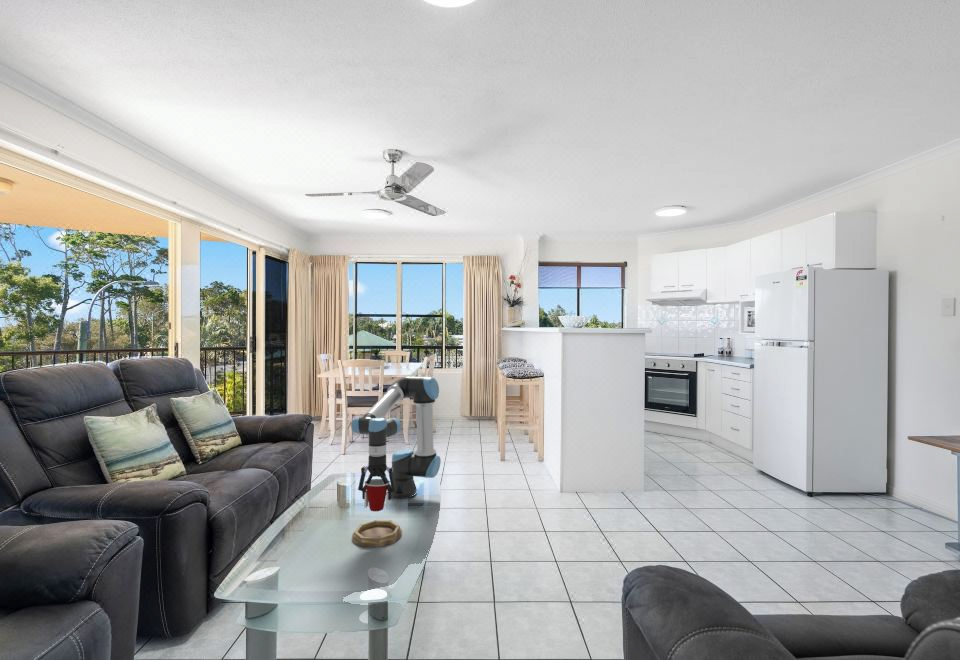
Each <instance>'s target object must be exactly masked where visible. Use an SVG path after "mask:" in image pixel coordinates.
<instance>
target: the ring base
mask: <svg viewBox="0 0 960 660" xmlns="http://www.w3.org/2000/svg"><path fill="white" fill-rule="evenodd" d="M402 536H403V530H402V528H401V525H399V524H398V523H396V522H395V521H393V520H388V519H387V520H383V519H374V520H370V521H368V522H364V523H361V524H359V525H358V526H357V528H356V529H355V530H354V531H353V533H352V535H351V540H352V542H353V544H355V545H356V546H359V547H363V548H381V547H386V546H390V545H393V544H394V543H396V542H398V541H399V540H400V539H401V538H402Z"/></svg>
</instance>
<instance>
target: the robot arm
mask: <svg viewBox="0 0 960 660" xmlns="http://www.w3.org/2000/svg"><path fill="white" fill-rule="evenodd" d="M439 395H440V387H439V383H438V381H437V379H436V378H435V377H433V376H431V377H430V376H411V375H409V376H404V377H401V378H399V379H398V380H396V381H394V382H393V383H392V384H391V385H389V387H388V388H387V390H386V392H385V393H384V394H383V395H382V396H381V397H380V399H378V400H377V401H376V403H374V405H373V406H372V407H371V408H370V409H369V410H368V411H366V413H365V414H364V415H363V416H357V417H354V418H353V419H352V421H351V425H350V429H351V431H352V433H354V434H357V435H366V436H367V435H368V454H369V455H368V466H363V467H361V469H360V471H361V474H360V478H359V479H360V480H359V483H358V484H359V485H358V487H357V490H358V491H360V492H361V493H362V494H361V495H362V497H361V498H362V500H364V508H365V509H367V507H369V502H368V496H367V490H366V485H365V479H366V474H367V472H368V473H369V475H368V478H367V479H366V483H367V484H369V483H370V481H371V479H373V478H374V477H377V478H380V479H382V480H383V482H384V484H387V483H389V481H390V483H389V484H388V485H387V488H386V489H387V492H386V498H385V502H386V503H385V508H386V509H389V508H390V505H391V504H390V503H391V502H390V501H391V500H392V499H407V498H406V497H409V498H411V497H410V496H412V495H414V494H415V493H416V492H417V491H418V490H417V485H416V483H415V480H414V479H415V478H414V477H419V478H426V479H431V478H432V479H434V478H435V477H436V476H437V475H438V473H439V470H440V468H441V464H442V463H441V457H440V456H439V455H437V450H436V449H435V448H434V423H433V422H434V416H433V415H434V414H433V404H435V403H436V400H437V399H438V398H439ZM403 399H412V400H413V401H412V402H413V404H414V405H415V406H416V410H415V411H416V412H415V413H416V448H417V449H416V450H415V451H414V450H413V449H401V450H398V451H395V452H394V453H392V456H391V467H390V466H388V464H387V438H389V437H392V436H395V435H396V434H398V433H399V432H400V430H401V427H402V426H401V425H402V424H401V421H400V420H399V419H398V418H396V417H390V418H385V416H386V415H388V413H389V412H390V411H391V409H392V408H394V407H395V405H396V404H397V403H399V402H401V401H402V400H403ZM386 472H387V473H388V477H389V479H388V477H387V474H386ZM388 480H389V481H388ZM416 494H417V493H416ZM414 496H415V495H414ZM412 497H413V496H412Z"/></svg>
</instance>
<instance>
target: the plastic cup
mask: <svg viewBox="0 0 960 660" xmlns="http://www.w3.org/2000/svg"><path fill="white" fill-rule="evenodd" d="M366 481H367V480H366ZM366 481H365V480H364V486H365V485H366V490H367V496H368V507H369V511H371V512H381V511H383V510H384V508H385V502H386V493H387V492H388V491H387V489H386V488H387V485H388V484H391V483H390V479H388V481H389V483H387V484H384V482H383V480H382V479H381V478H374V479H373V478H372V479H371V481H370V483H369V484H367V483H366Z"/></svg>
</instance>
